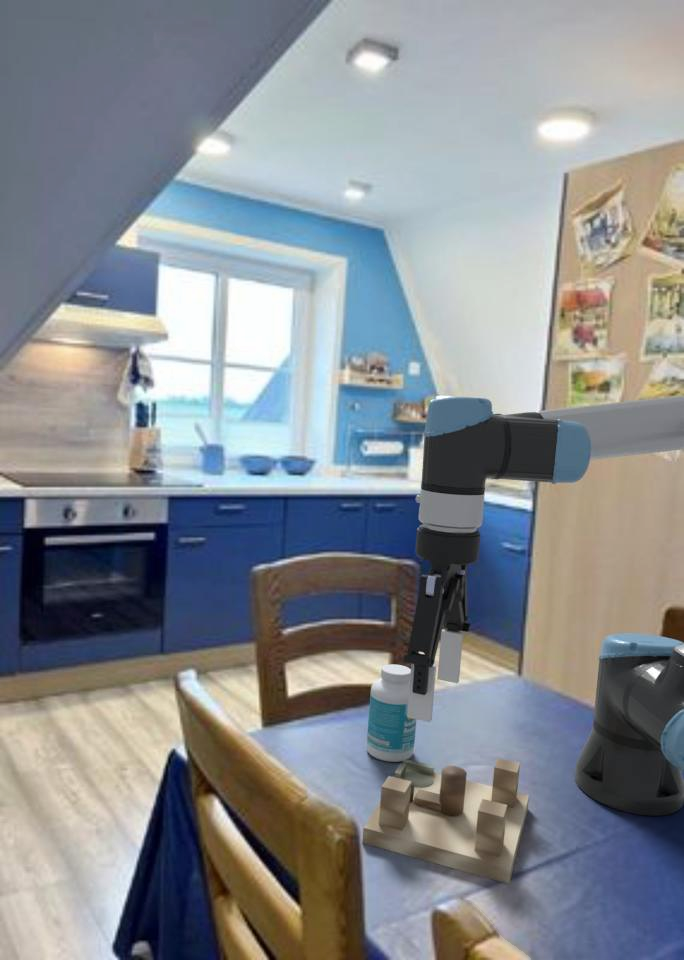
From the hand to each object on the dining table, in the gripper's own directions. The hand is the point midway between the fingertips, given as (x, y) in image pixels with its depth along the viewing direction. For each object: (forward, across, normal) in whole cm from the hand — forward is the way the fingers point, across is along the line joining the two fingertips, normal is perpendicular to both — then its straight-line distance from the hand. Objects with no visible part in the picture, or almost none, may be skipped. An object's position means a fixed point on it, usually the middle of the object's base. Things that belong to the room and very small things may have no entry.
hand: (434, 698), depth 93 cm
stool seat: (+19, -6, +2) cm, 20 cm away
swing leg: (+17, -6, 0) cm, 18 cm away
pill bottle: (+19, -22, -11) cm, 31 cm away
